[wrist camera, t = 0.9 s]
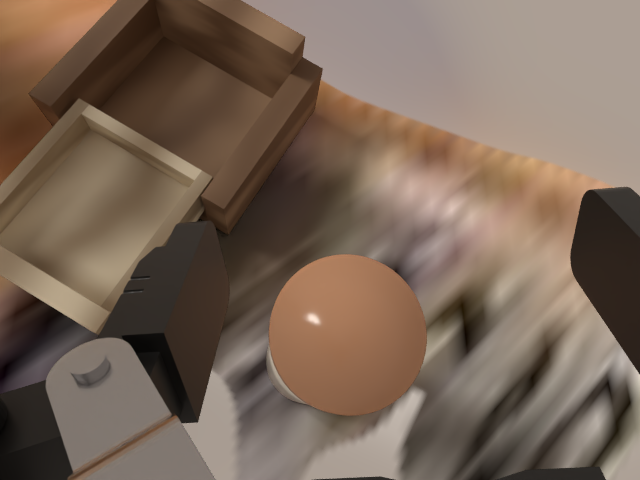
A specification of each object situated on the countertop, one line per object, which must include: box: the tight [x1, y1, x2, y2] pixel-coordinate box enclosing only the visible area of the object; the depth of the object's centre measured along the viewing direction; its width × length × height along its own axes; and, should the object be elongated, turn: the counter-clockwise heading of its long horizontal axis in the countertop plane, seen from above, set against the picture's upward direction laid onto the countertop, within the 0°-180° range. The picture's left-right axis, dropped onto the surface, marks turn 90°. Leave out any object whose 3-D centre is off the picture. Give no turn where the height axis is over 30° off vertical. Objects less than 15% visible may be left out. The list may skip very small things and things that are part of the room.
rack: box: [29, 0, 322, 235], centre depth 33 cm, size 14×12×7 cm
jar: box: [266, 254, 427, 416], centre depth 25 cm, size 6×6×15 cm
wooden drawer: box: [0, 99, 213, 335], centre depth 30 cm, size 12×11×7 cm
